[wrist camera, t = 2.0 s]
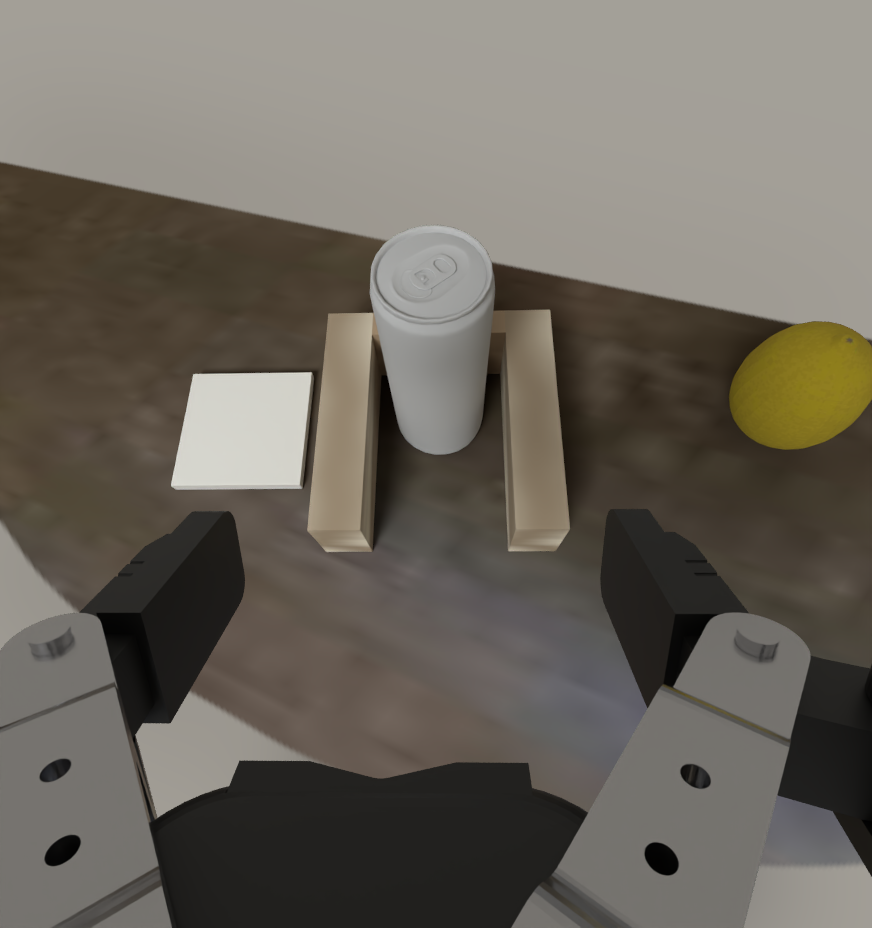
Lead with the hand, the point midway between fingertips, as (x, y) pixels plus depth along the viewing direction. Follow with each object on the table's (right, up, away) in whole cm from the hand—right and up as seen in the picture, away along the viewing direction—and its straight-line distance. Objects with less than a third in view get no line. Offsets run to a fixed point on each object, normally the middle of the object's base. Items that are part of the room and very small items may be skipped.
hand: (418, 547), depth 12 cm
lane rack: (+1, +3, +19) cm, 19 cm away
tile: (-10, +4, +20) cm, 23 cm away
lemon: (+18, +4, +19) cm, 27 cm away
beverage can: (+1, +4, +20) cm, 20 cm away
